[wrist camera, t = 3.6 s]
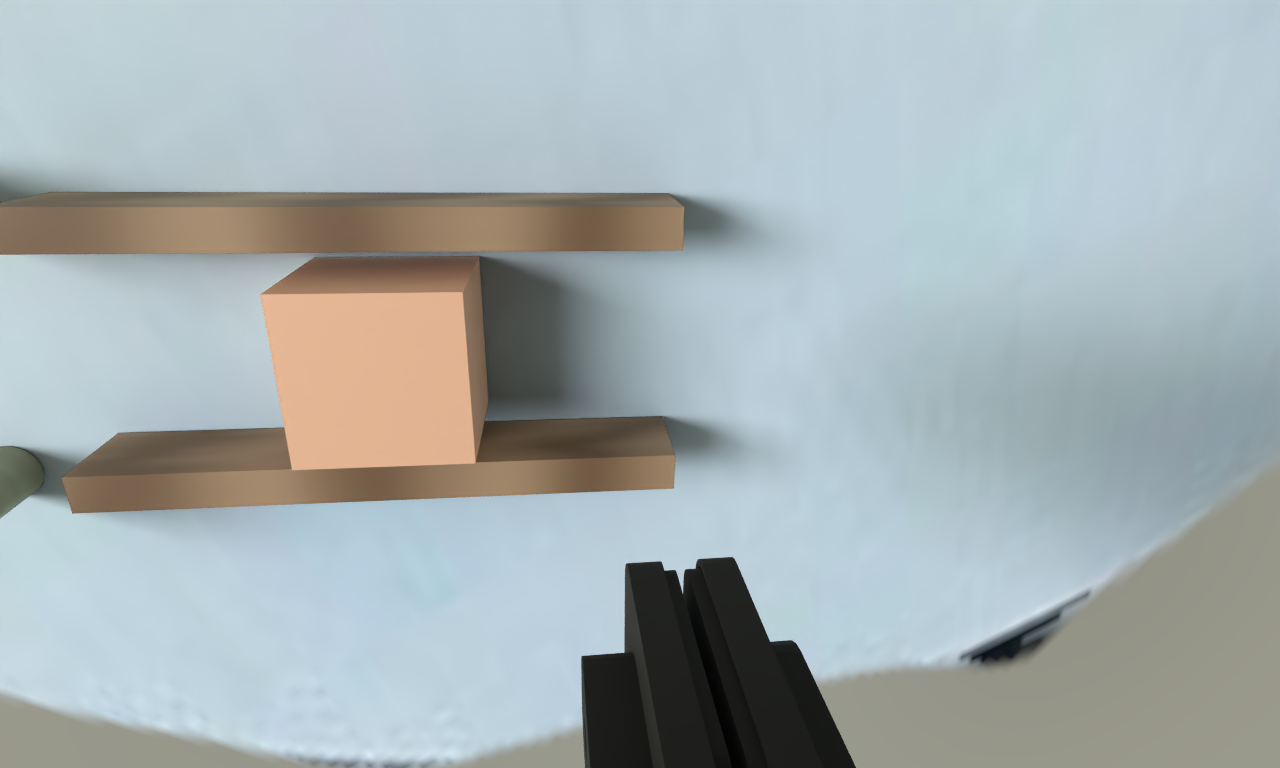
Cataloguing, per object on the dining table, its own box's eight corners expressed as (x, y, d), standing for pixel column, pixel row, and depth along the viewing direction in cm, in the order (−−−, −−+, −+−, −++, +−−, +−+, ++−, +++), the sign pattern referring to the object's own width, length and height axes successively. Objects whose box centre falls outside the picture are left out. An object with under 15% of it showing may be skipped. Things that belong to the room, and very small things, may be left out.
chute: (669, 161, 23) (699, 180, 18) (660, 470, 27) (682, 549, 22) (-129, 156, 20) (-330, 175, 16) (-8, 495, 24) (-140, 590, 20)
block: (479, 256, 23) (462, 292, 19) (488, 401, 25) (475, 463, 21) (314, 257, 23) (260, 294, 18) (336, 405, 24) (292, 470, 20)
